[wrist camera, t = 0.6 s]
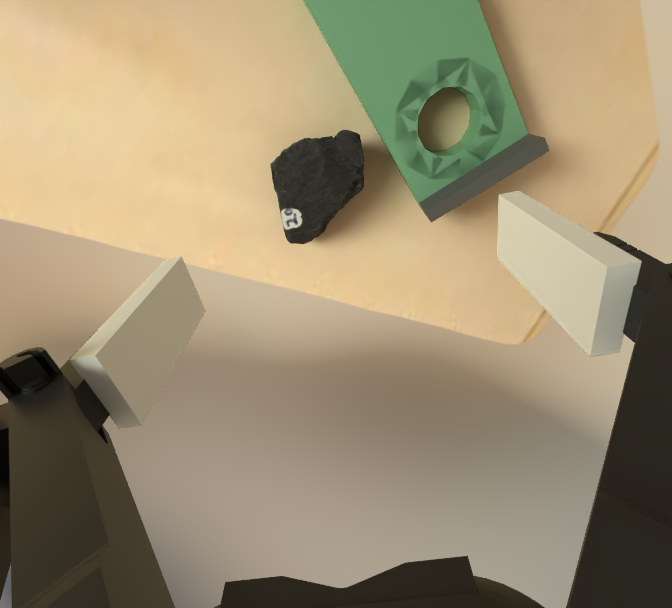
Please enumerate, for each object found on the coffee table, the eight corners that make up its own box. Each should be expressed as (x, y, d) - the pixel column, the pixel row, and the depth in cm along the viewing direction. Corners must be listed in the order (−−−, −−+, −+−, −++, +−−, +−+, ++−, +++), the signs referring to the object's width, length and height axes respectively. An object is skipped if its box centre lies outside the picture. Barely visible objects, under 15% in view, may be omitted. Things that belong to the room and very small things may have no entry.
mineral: (371, 224, 41) (376, 243, 36) (292, 239, 41) (285, 259, 36) (356, 123, 36) (359, 129, 31) (266, 142, 37) (254, 151, 31)
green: (243, -106, 28) (222, -151, 22) (369, -238, 25) (378, -325, 19) (418, 204, 39) (431, 222, 34) (518, 141, 36) (549, 150, 31)
